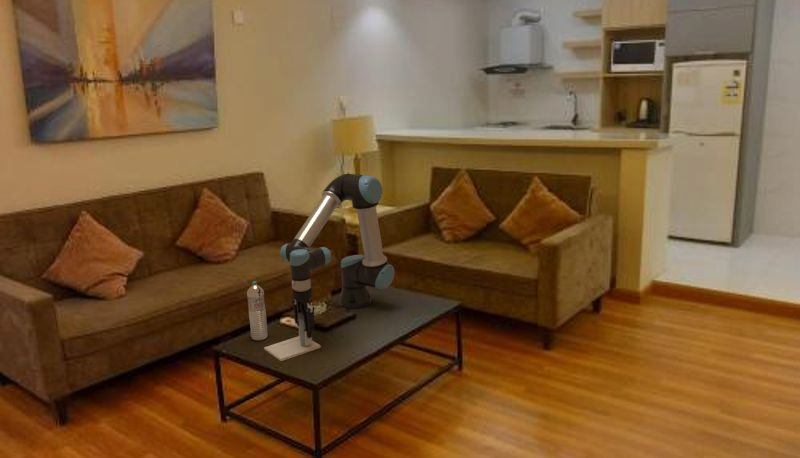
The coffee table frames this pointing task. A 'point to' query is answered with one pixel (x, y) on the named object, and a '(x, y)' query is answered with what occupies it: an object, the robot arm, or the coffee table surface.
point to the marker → (302, 329)
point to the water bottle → (257, 312)
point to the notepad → (290, 348)
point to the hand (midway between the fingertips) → (305, 342)
